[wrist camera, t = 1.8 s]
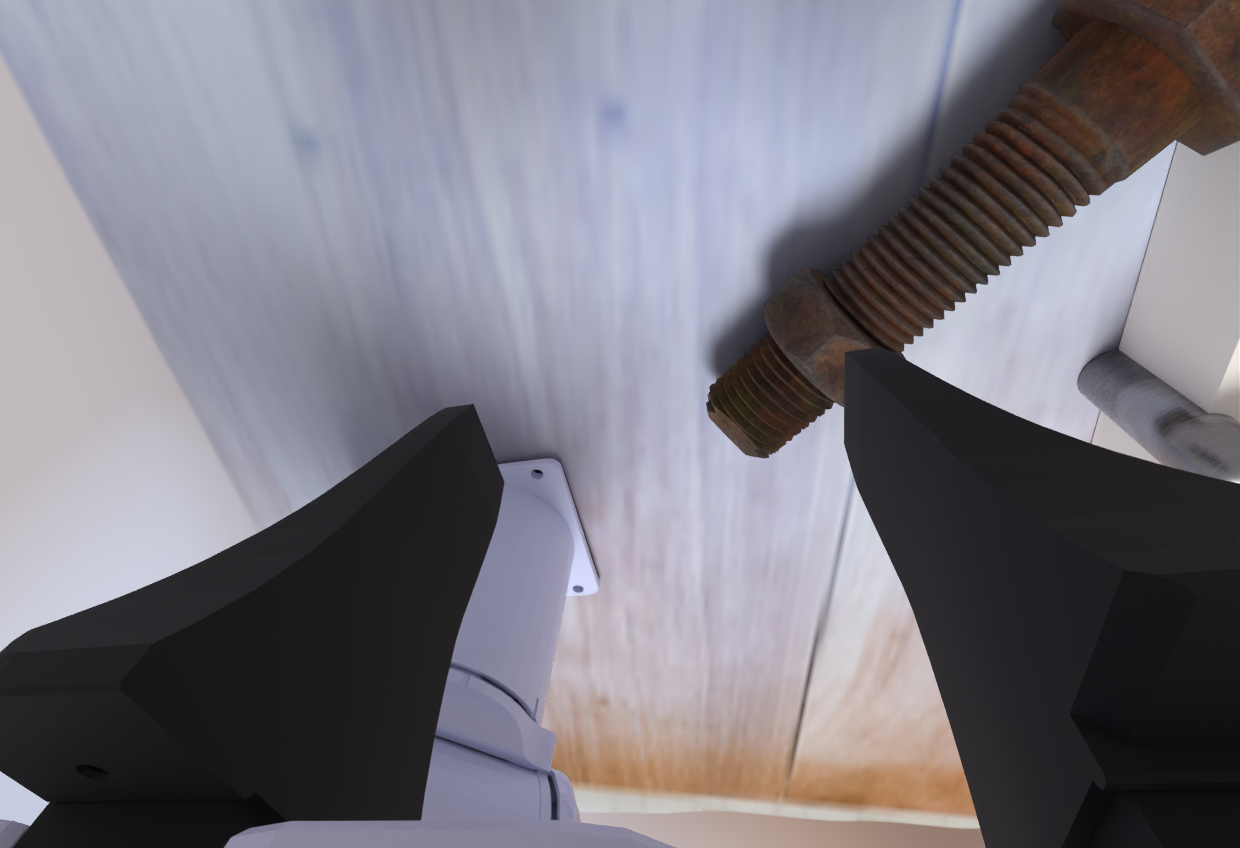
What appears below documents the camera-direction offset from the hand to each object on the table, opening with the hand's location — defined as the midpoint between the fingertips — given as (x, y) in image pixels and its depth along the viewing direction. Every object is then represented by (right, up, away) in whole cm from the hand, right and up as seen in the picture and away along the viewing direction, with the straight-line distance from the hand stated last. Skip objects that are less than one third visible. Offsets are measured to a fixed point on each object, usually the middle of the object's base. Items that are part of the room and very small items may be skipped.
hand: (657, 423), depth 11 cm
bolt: (+8, +6, +7) cm, 12 cm away
